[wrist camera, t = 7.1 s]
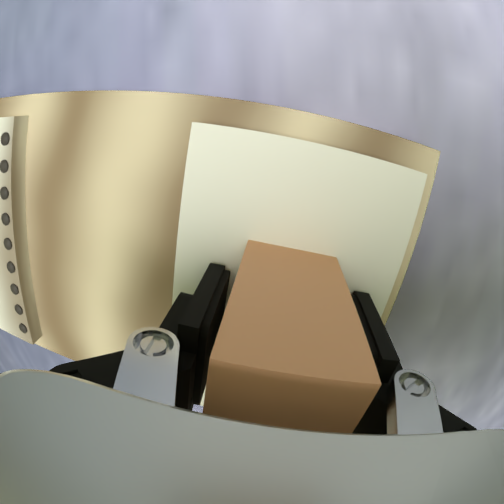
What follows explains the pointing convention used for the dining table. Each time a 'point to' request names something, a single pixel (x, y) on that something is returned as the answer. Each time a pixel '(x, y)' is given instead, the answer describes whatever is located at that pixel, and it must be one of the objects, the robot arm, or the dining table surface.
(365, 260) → the stub
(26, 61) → the dining table surface
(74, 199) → the ticket pad
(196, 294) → the robot arm
